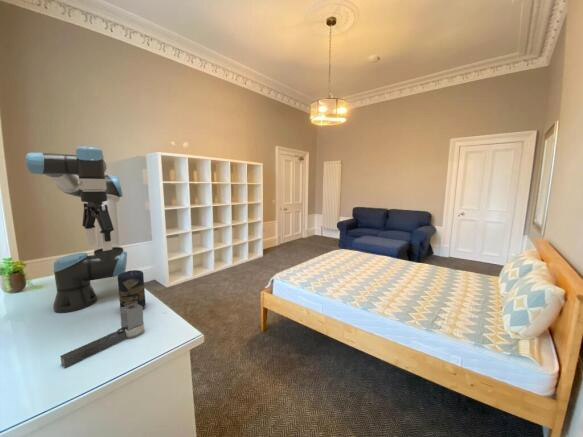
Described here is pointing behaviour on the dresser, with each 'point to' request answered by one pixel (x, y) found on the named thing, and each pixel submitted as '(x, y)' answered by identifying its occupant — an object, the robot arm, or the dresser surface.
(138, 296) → the canister
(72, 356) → the ratchet
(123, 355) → the dresser surface
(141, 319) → the socket
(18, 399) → the dresser surface
